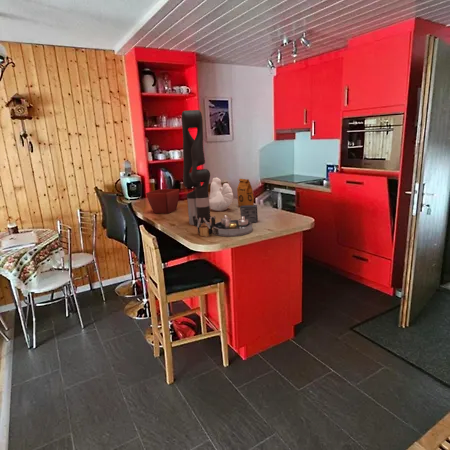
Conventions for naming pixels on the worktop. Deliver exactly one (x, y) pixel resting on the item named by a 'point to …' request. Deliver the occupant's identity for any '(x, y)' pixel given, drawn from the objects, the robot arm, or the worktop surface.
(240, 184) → the coffee package
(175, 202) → the plant pot
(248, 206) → the small box
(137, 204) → the worktop surface
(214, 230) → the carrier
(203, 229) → the planet gear
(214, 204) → the decorative rooster
